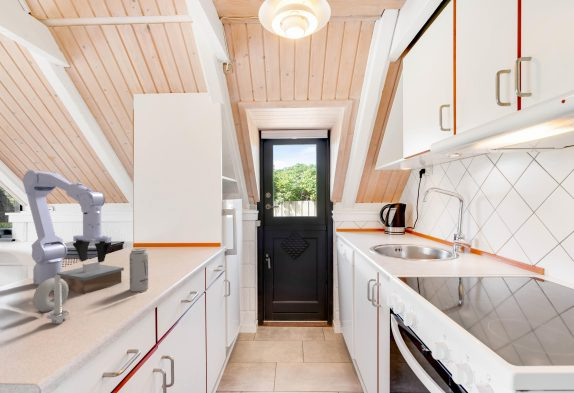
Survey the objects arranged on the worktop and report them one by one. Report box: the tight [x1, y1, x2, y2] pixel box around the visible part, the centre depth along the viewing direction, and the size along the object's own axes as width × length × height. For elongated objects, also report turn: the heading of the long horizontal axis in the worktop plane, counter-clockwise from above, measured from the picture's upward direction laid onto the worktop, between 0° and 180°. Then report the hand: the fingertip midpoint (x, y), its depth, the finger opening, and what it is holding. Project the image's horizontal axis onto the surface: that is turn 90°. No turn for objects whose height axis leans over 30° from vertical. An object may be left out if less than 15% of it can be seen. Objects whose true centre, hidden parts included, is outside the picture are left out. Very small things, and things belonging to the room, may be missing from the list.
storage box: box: [60, 271, 122, 294], centre depth 114 cm, size 14×14×6 cm
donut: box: [32, 278, 69, 313], centre depth 91 cm, size 10×4×10 cm, turn 168°
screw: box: [46, 275, 70, 325], centre depth 84 cm, size 13×5×5 cm
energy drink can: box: [129, 247, 149, 294], centre depth 110 cm, size 6×6×15 cm
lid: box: [57, 260, 125, 280], centre depth 114 cm, size 15×15×4 cm
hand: (92, 261), depth 113 cm, fingers open, 7 cm apart
